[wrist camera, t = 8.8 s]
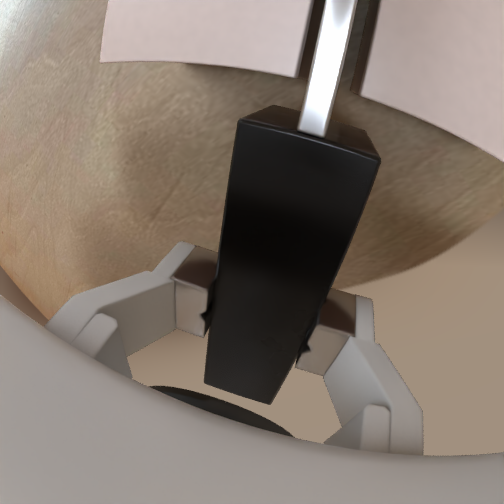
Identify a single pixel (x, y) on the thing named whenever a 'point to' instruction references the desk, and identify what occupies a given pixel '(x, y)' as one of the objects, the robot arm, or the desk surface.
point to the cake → (369, 59)
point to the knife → (286, 223)
